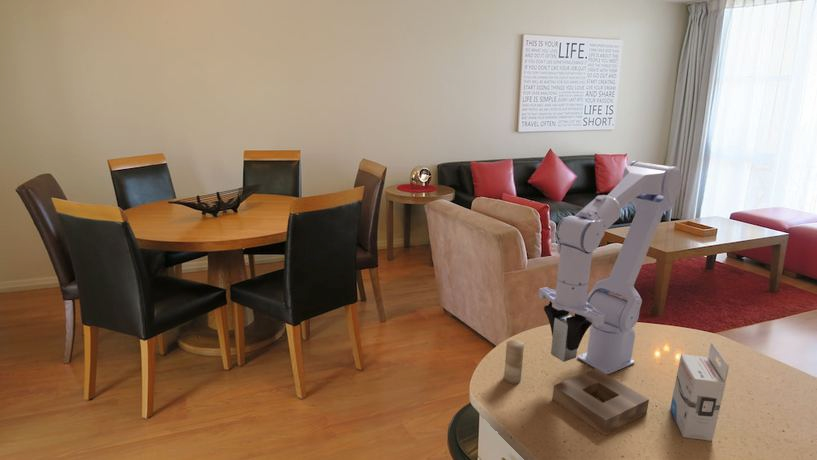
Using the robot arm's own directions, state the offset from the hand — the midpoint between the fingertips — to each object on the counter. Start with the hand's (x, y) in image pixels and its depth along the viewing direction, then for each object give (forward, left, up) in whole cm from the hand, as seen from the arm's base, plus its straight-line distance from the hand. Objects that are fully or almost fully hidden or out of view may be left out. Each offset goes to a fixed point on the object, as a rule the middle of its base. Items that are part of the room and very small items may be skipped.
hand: (565, 344), depth 101 cm
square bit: (0, 0, -2) cm, 3 cm away
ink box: (-11, +20, -10) cm, 25 cm away
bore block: (-1, +8, -9) cm, 13 cm away
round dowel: (+7, -7, -9) cm, 13 cm away
